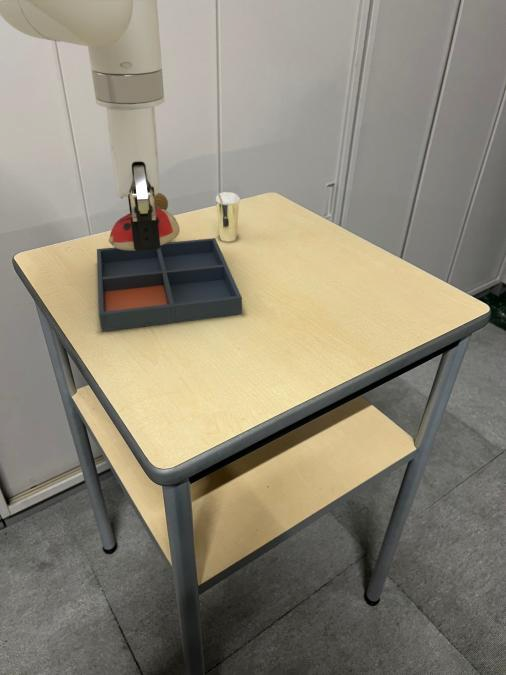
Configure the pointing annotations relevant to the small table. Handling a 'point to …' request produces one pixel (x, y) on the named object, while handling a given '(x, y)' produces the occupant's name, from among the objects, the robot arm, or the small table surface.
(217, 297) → the four-compartment sorting tray
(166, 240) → the ladybug figurine
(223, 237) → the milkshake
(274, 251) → the small table surface
